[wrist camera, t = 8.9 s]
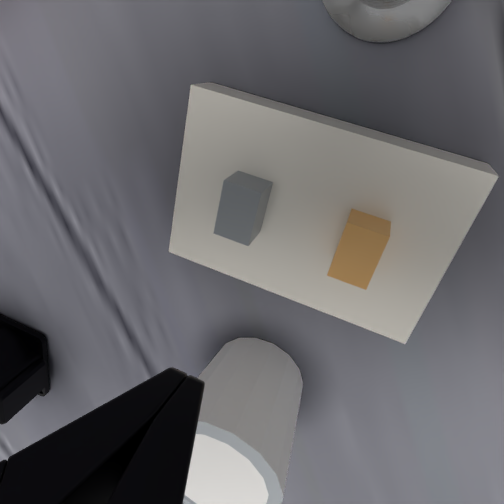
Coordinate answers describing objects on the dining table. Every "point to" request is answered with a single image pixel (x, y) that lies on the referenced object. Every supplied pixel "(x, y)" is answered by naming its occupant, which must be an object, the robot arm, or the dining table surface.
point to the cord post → (384, 17)
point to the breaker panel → (321, 207)
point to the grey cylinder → (245, 425)
